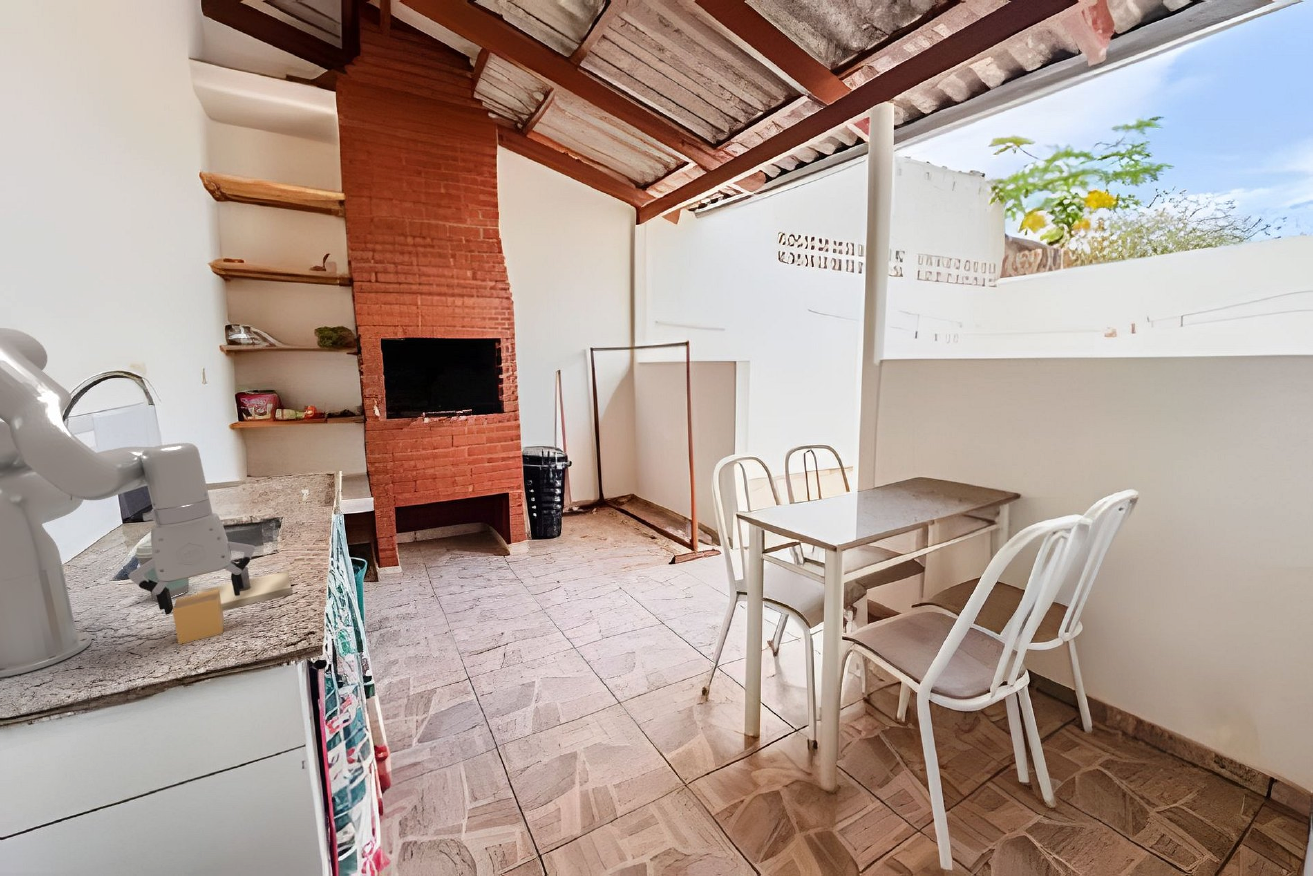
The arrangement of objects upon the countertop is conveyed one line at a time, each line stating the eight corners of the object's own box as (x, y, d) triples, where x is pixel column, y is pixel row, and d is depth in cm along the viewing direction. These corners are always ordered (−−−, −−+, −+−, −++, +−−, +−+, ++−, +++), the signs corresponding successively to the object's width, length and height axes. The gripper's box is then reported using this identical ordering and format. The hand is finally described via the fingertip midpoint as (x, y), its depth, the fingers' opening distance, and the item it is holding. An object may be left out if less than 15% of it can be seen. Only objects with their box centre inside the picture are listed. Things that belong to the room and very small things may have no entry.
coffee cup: (136, 599, 112) (126, 545, 110) (186, 583, 119) (177, 533, 118) (154, 606, 108) (143, 551, 106) (204, 590, 115) (195, 538, 114)
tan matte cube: (178, 644, 92) (172, 610, 91) (182, 631, 97) (176, 598, 96) (222, 633, 96) (216, 600, 95) (224, 621, 101) (219, 589, 100)
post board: (193, 617, 102) (188, 589, 101) (198, 597, 112) (194, 570, 111) (291, 594, 112) (288, 567, 111) (289, 576, 121) (285, 552, 120)
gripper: (111, 530, 85) (135, 627, 88) (244, 505, 95) (263, 593, 98) (120, 520, 91) (143, 612, 94) (245, 498, 101) (262, 581, 104)
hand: (204, 602), depth 96 cm, fingers open, 9 cm apart
